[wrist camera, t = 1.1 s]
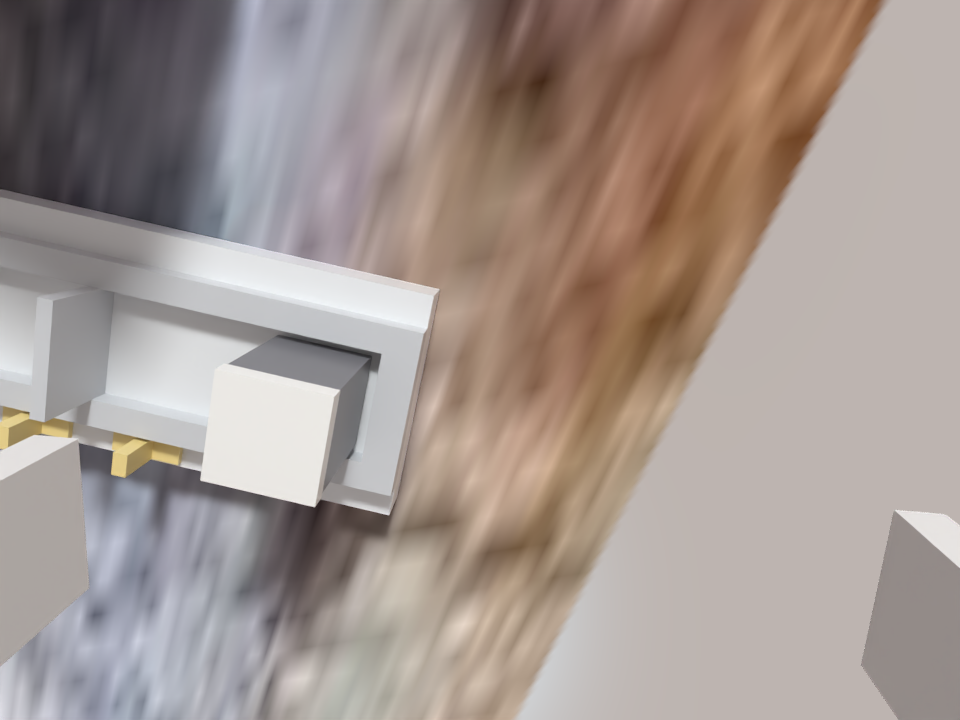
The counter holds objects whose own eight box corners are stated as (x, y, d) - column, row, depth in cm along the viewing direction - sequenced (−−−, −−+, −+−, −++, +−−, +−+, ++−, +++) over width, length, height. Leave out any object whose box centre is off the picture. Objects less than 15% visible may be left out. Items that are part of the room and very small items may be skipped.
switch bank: (-157, 367, 34) (-299, 404, 28) (-158, 153, 31) (-314, 145, 26) (397, 496, 33) (369, 561, 28) (439, 289, 31) (419, 312, 25)
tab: (263, 424, 31) (200, 480, 25) (277, 333, 30) (214, 369, 24) (356, 445, 31) (315, 507, 25) (373, 355, 30) (334, 396, 24)
